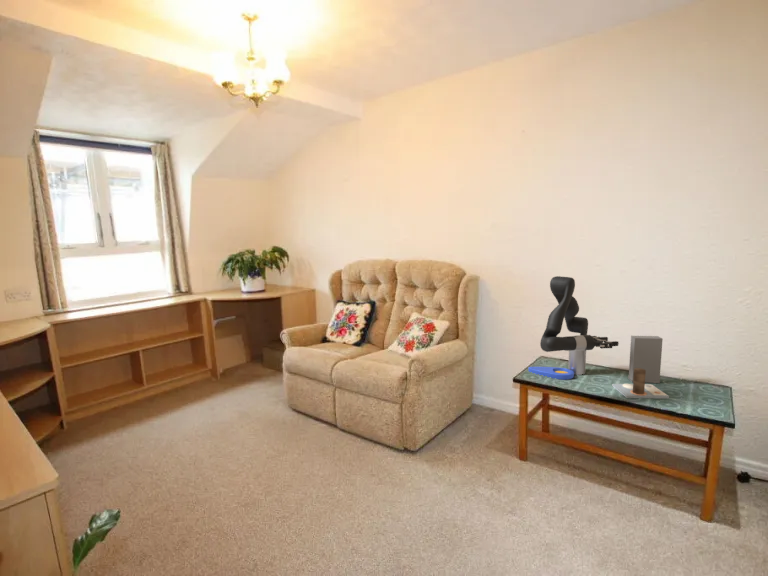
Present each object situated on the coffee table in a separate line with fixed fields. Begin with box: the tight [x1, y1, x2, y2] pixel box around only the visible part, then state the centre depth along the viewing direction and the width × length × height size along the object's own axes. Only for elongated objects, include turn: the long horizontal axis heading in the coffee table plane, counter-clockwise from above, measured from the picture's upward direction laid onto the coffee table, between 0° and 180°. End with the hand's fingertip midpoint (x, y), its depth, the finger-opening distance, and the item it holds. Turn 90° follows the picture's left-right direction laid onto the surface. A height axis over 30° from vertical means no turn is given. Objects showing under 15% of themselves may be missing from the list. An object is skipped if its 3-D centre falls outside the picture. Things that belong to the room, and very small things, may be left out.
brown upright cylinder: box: [632, 368, 646, 394], centre depth 209 cm, size 5×5×12 cm
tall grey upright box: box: [627, 335, 663, 384], centre depth 227 cm, size 14×6×25 cm, turn 80°
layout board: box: [611, 383, 670, 399], centre depth 214 cm, size 16×20×2 cm
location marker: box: [528, 366, 575, 380], centre depth 243 cm, size 13×3×25 cm
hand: (612, 341), depth 208 cm, fingers open, 8 cm apart
